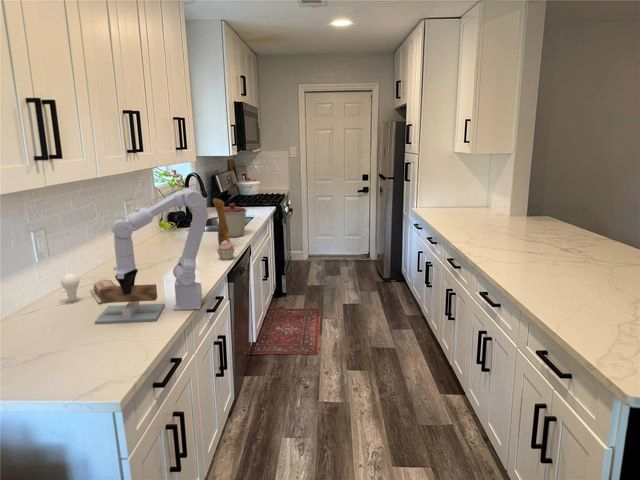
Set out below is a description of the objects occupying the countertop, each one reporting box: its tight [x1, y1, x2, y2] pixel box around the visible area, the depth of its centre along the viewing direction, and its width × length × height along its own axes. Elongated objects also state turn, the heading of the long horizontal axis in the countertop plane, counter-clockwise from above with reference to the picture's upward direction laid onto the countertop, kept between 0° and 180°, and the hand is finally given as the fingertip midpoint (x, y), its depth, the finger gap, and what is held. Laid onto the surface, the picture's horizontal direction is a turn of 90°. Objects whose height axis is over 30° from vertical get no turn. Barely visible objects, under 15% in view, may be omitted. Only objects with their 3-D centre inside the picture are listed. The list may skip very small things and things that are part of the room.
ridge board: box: [94, 301, 166, 325], centre depth 155 cm, size 20×14×4 cm
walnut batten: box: [100, 284, 158, 304], centre depth 153 cm, size 18×3×5 cm, turn 98°
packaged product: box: [89, 279, 118, 305], centre depth 174 cm, size 18×5×10 cm
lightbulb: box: [60, 273, 80, 302], centre depth 167 cm, size 6×6×11 cm
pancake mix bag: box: [212, 197, 231, 247], centre depth 247 cm, size 7×19×28 cm, turn 22°
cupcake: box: [216, 240, 236, 261], centre depth 226 cm, size 9×9×10 cm
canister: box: [224, 202, 248, 238], centre depth 276 cm, size 18×18×21 cm
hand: (128, 292), depth 153 cm, fingers closed on walnut batten, 3 cm apart
